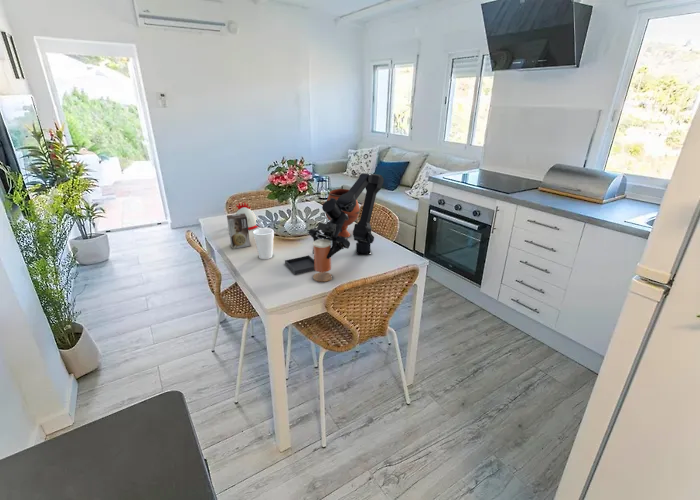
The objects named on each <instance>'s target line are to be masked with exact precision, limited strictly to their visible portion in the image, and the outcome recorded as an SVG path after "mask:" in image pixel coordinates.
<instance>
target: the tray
mask: <svg viewBox="0 0 700 500" xmlns="http://www.w3.org/2000/svg"><path fill="white" fill-rule="evenodd" d="M284 265H285V266H286V267H287V268H288V269H289V270H290V271H291V273H293V275H296V276H297V275H301V274H304V273H309V272H312V271H315V269H314V257H312V256H311V255H309V254H308V255H304V256H300V257H295V258H289V259H286V260H285V259H284Z"/></svg>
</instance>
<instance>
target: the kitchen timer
mask: <svg viewBox="0 0 700 500" xmlns="http://www.w3.org/2000/svg"><path fill="white" fill-rule="evenodd" d="M235 206H236V208H237V209H238V210H237V211H236V212H235V214H243V213H245V215H246V216H247V223H248V231H252V230H256V229H258V227H259V225H258V226H256V220H257V221H258V218H257V216H256V214H255V212H254V211H253V210H252V209H251V206H252V205H251V204H250V206H249V203H246V202H244V203H243V202H241V203H240V202H238V204H236V205H235Z"/></svg>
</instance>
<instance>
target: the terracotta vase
mask: <svg viewBox="0 0 700 500" xmlns="http://www.w3.org/2000/svg"><path fill="white" fill-rule="evenodd" d="M349 190H350V189H347V188H336V189H335V188H334V189H332V190H329V191H328V196H327V199H326V201H328V200H330V199H331V198H334V199H335V200H337V199H338V198H339V197H340V196H341V195H343V194H345V193H347V192H348V191H349ZM343 212H344V213H345V214H348V220H345V222H344V224H343V226H342V228H341V229H342V232H339V234H338V236H342V237H346V239H348V238H350V237H351V233H350V232H349V231H348V228H349V226H350V225H352V224H353V223H354V222H356V221H357V219H358V218H359V215H360V204H359V202H358V199H357V200H356V206H355V207H354V209H353V211H352V212H346V211H343ZM324 214H325V217H326V218H327V220H329V221H330V220H331V218H330V217H329V216H328V215H327V214H326V213H325V212H324Z"/></svg>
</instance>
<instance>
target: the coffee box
mask: <svg viewBox="0 0 700 500" xmlns="http://www.w3.org/2000/svg"><path fill="white" fill-rule="evenodd" d="M226 219H227V228H228V233H229V240H230V246H231V248H232V250H235V249H240V248H247V247H251V239H250V230H248V223H247V216H246V215H245V213H243V214H236V213H235V214H229V215H228V214H227V215H226Z"/></svg>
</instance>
